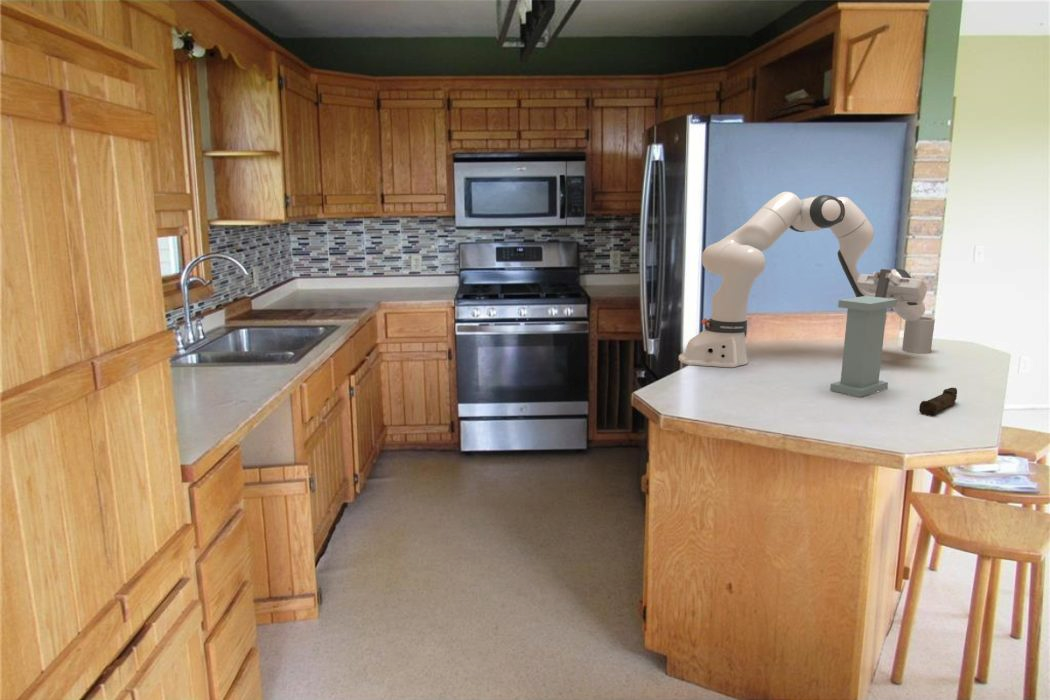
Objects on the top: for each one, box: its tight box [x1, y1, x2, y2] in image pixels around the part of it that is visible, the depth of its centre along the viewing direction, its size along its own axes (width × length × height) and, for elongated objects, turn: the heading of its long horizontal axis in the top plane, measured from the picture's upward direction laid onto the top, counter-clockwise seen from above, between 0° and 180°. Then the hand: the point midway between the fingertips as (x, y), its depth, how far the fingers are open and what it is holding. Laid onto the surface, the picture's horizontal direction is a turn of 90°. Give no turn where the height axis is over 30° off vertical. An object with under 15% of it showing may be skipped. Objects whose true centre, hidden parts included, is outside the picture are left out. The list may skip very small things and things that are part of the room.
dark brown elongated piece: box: [918, 387, 958, 417], centre depth 190 cm, size 19×4×5 cm, turn 128°
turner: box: [875, 268, 892, 325], centre depth 232 cm, size 24×6×2 cm
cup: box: [901, 316, 936, 355], centre depth 260 cm, size 9×9×12 cm
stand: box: [829, 296, 898, 398], centre depth 206 cm, size 15×9×26 cm, turn 128°
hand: (881, 274), depth 230 cm, fingers closed on turner, 3 cm apart
